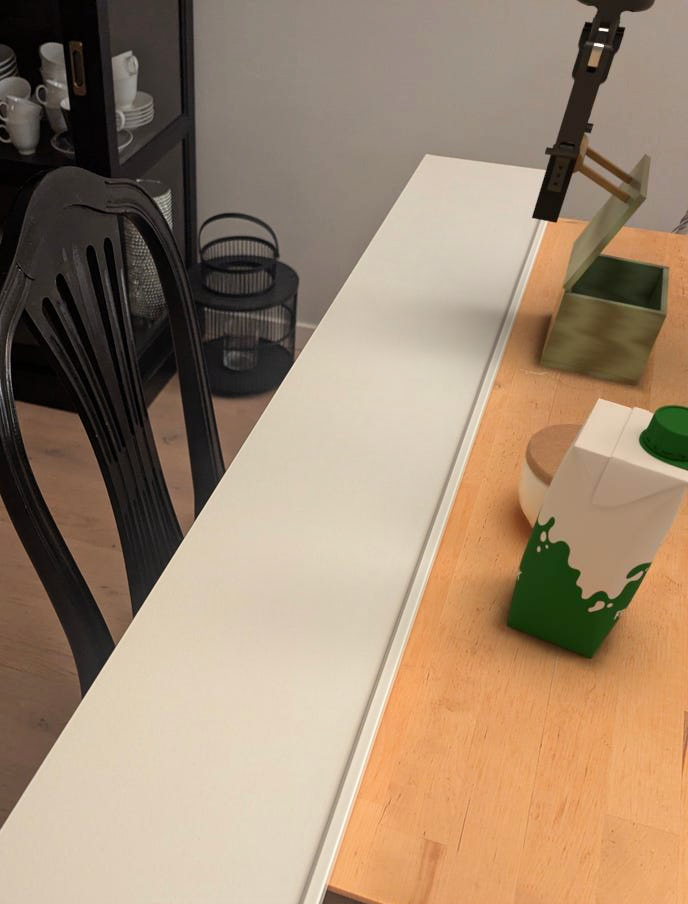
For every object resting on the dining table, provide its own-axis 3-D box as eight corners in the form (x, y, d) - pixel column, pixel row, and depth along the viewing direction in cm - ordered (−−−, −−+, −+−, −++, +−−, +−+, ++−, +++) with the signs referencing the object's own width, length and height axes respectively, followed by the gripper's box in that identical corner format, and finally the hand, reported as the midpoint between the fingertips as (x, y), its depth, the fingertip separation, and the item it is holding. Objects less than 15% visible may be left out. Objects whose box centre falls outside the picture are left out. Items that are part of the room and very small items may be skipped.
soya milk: (599, 670, 73) (711, 463, 59) (490, 627, 76) (571, 419, 62) (623, 606, 79) (730, 402, 64) (520, 568, 81) (601, 364, 67)
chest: (640, 335, 114) (669, 266, 108) (635, 386, 105) (667, 314, 99) (551, 316, 116) (574, 248, 110) (539, 364, 107) (563, 293, 101)
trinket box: (622, 573, 82) (665, 488, 75) (501, 548, 83) (533, 463, 76) (617, 503, 89) (655, 420, 82) (505, 482, 90) (534, 398, 84)
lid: (651, 157, 101) (584, 111, 101) (646, 198, 92) (573, 148, 92) (578, 246, 110) (517, 204, 109) (568, 291, 101) (501, 246, 100)
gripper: (594, -67, 93) (526, 172, 109) (576, -33, 80) (501, 232, 96) (671, -57, 91) (590, 184, 108) (665, -21, 78) (574, 247, 95)
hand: (548, 206), depth 102 cm, fingers closed on lid, 7 cm apart
